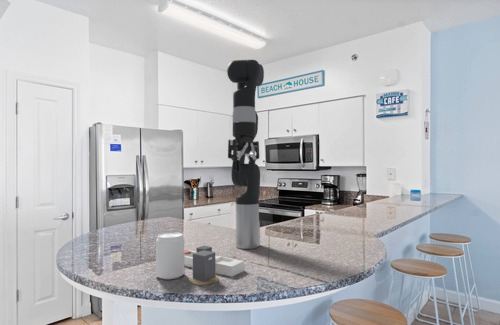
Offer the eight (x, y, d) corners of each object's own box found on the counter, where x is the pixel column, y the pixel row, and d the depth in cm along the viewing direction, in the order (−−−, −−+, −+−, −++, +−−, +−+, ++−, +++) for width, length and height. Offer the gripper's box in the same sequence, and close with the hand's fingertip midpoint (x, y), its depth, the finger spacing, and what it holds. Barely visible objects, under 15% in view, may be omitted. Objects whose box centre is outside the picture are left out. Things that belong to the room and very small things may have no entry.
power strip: (183, 257, 112) (183, 240, 112) (244, 270, 97) (244, 251, 98) (169, 262, 107) (169, 244, 107) (231, 276, 92) (231, 256, 92)
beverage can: (186, 271, 98) (186, 231, 98) (181, 280, 90) (181, 237, 90) (160, 271, 97) (160, 232, 97) (152, 280, 89) (152, 238, 89)
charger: (203, 274, 93) (203, 250, 93) (215, 277, 90) (215, 252, 90) (192, 278, 89) (192, 253, 89) (205, 281, 86) (205, 256, 87)
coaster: (203, 273, 95) (203, 271, 95) (224, 278, 91) (224, 276, 91) (183, 281, 88) (183, 279, 88) (205, 287, 84) (205, 285, 84)
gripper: (247, 125, 110) (247, 172, 110) (221, 120, 98) (221, 173, 98) (265, 123, 106) (265, 172, 106) (240, 118, 94) (241, 173, 94)
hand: (244, 172), depth 102 cm, fingers open, 8 cm apart
